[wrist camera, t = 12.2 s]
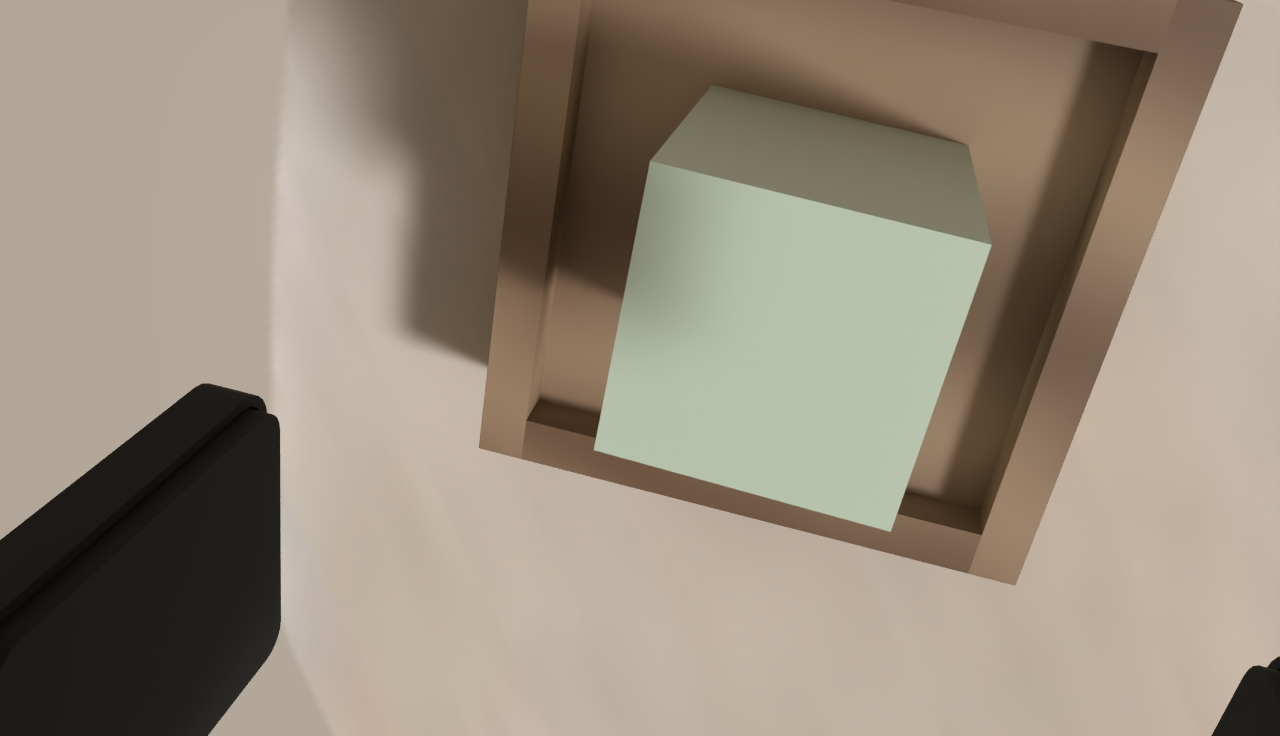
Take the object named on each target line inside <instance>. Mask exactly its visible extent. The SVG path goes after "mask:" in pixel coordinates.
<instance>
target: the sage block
mask: <svg viewBox="0 0 1280 736" xmlns="http://www.w3.org/2000/svg"><path fill="white" fill-rule="evenodd" d="M991 246H992V243H991V239H990V235H989V231H988V226H987V222H986V218H985V214H984V209H983V205H982V201H981V197H980V193H979V188H978V184H977V180H976V176H975V171H974V167H973V163H972V159H971V154H970V150H969V146H968V145H965V144H961V143H956V142H952V141H948V140H944V139H939V138H935V137H931V136H927V135H922V134H918V133H914V132H910V131H906V130H901V129H897V128H893V127H889V126H884V125H880V124H876V123H872V122H867V121H863V120H859V119H855V118H851V117H846V116H842V115H838V114H834V113H829V112H825V111H821V110H817V109H812V108H808V107H804V106H800V105H795V104H791V103H787V102H783V101H779V100H774V99H770V98H766V97H762V96H757V95H753V94H749V93H745V92H740V91H736V90H732V89H728V88H724V87H719V86H715V85H712V86H711V87H710V88H709V89H708V90H707V92H706V93H705V94H704V95H703V97H702V98H701V99H700V100H699V102H698V103H697V104H696V105H695V106H694V108H693V109H692V110H691V111H690V113H689V114H688V115H687V116H686V118H685V119H684V120H683V121H682V122H681V124H680V125H679V126H678V127H677V129H676V130H675V131H674V132H673V134H672V135H671V136H670V137H669V138H668V140H667V141H666V142H665V143H664V145H663V146H662V147H661V148H660V150H659V151H658V152H657V153H656V154H655V156H654V157H653V158H652V159H651V161H650V164H649V169H648V174H647V180H646V185H645V190H644V195H643V200H642V205H641V210H640V215H639V221H638V226H637V231H636V236H635V241H634V246H633V251H632V256H631V262H630V267H629V272H628V277H627V282H626V287H625V292H624V297H623V303H622V308H621V313H620V318H619V323H618V328H617V333H616V338H615V344H614V349H613V354H612V359H611V364H610V369H609V374H608V379H607V385H606V390H605V395H604V400H603V405H602V410H601V415H600V420H599V426H598V431H597V436H596V441H595V446H594V450H595V451H599V452H603V453H606V454H610V455H613V456H617V457H621V458H624V459H628V460H632V461H635V462H639V463H642V464H646V465H650V466H653V467H657V468H661V469H664V470H668V471H671V472H675V473H679V474H682V475H686V476H690V477H693V478H697V479H700V480H704V481H708V482H711V483H715V484H719V485H722V486H726V487H730V488H733V489H737V490H740V491H744V492H748V493H751V494H755V495H759V496H762V497H766V498H769V499H773V500H777V501H780V502H784V503H788V504H791V505H795V506H798V507H802V508H806V509H809V510H813V511H817V512H820V513H824V514H827V515H831V516H835V517H838V518H842V519H846V520H849V521H853V522H856V523H860V524H864V525H867V526H871V527H875V528H878V529H882V530H886V531H889V532H891V530H892V527H893V524H894V521H895V518H896V515H897V513H898V510H899V507H900V504H901V501H902V498H903V496H904V493H905V490H906V487H907V484H908V481H909V479H910V476H911V473H912V470H913V467H914V464H915V462H916V459H917V456H918V453H919V450H920V447H921V445H922V442H923V439H924V436H925V433H926V430H927V427H928V425H929V422H930V419H931V416H932V413H933V410H934V408H935V405H936V402H937V399H938V396H939V393H940V391H941V388H942V385H943V382H944V379H945V376H946V374H947V371H948V368H949V365H950V362H951V359H952V357H953V354H954V351H955V348H956V345H957V342H958V339H959V337H960V334H961V331H962V328H963V325H964V322H965V320H966V317H967V314H968V311H969V308H970V305H971V303H972V300H973V297H974V294H975V291H976V288H977V286H978V283H979V280H980V277H981V274H982V271H983V268H984V266H985V263H986V260H987V257H988V254H989V251H990V249H991Z"/></svg>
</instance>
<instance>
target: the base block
mask: <svg viewBox="0 0 1280 736" xmlns="http://www.w3.org/2000/svg"><path fill="white" fill-rule="evenodd" d="M1242 6H1243V4H1242V3H1240V2H1237V1H1235V0H528V7H527V16H526V25H525V34H524V43H523V52H522V61H521V70H520V80H519V89H518V98H517V107H516V116H515V125H514V134H513V143H512V152H511V161H510V170H509V179H508V188H507V197H506V206H505V216H504V225H503V234H502V243H501V252H500V261H499V270H498V279H497V288H496V297H495V306H494V315H493V324H492V333H491V342H490V352H489V361H488V370H487V379H486V388H485V397H484V406H483V415H482V424H481V433H480V442H479V448H481V449H485V450H489V451H493V452H497V453H500V454H504V455H508V456H512V457H516V458H520V459H524V460H528V461H532V462H536V463H539V464H543V465H547V466H551V467H555V468H559V469H563V470H567V471H571V472H575V473H578V474H582V475H586V476H590V477H594V478H598V479H602V480H606V481H610V482H614V483H617V484H621V485H625V486H629V487H633V488H637V489H641V490H645V491H649V492H653V493H656V494H660V495H664V496H668V497H672V498H676V499H680V500H684V501H688V502H692V503H695V504H699V505H703V506H707V507H711V508H715V509H719V510H723V511H727V512H731V513H734V514H738V515H742V516H746V517H750V518H754V519H758V520H762V521H766V522H770V523H773V524H777V525H781V526H785V527H789V528H793V529H797V530H801V531H805V532H809V533H812V534H816V535H820V536H824V537H828V538H832V539H836V540H840V541H844V542H848V543H851V544H855V545H859V546H863V547H867V548H871V549H875V550H879V551H883V552H887V553H890V554H894V555H898V556H902V557H906V558H910V559H914V560H918V561H922V562H926V563H929V564H933V565H937V566H941V567H945V568H949V569H953V570H957V571H961V572H965V573H968V574H972V575H976V576H980V577H984V578H988V579H992V580H996V581H1000V582H1004V583H1007V584H1011V585H1016V582H1017V580H1018V577H1019V575H1020V572H1021V570H1022V567H1023V564H1024V562H1025V559H1026V557H1027V554H1028V552H1029V549H1030V547H1031V544H1032V542H1033V539H1034V536H1035V534H1036V531H1037V529H1038V526H1039V524H1040V521H1041V519H1042V516H1043V513H1044V511H1045V508H1046V506H1047V503H1048V501H1049V498H1050V496H1051V493H1052V491H1053V488H1054V485H1055V483H1056V480H1057V478H1058V475H1059V473H1060V470H1061V468H1062V465H1063V463H1064V460H1065V457H1066V455H1067V452H1068V450H1069V447H1070V445H1071V442H1072V440H1073V437H1074V434H1075V432H1076V429H1077V427H1078V424H1079V422H1080V419H1081V417H1082V414H1083V412H1084V409H1085V406H1086V404H1087V401H1088V399H1089V396H1090V394H1091V391H1092V389H1093V386H1094V384H1095V381H1096V378H1097V376H1098V373H1099V371H1100V368H1101V366H1102V363H1103V361H1104V358H1105V356H1106V353H1107V350H1108V348H1109V345H1110V343H1111V340H1112V338H1113V335H1114V333H1115V330H1116V327H1117V325H1118V322H1119V320H1120V317H1121V315H1122V312H1123V310H1124V307H1125V305H1126V302H1127V299H1128V297H1129V294H1130V292H1131V289H1132V287H1133V284H1134V282H1135V279H1136V277H1137V274H1138V271H1139V269H1140V266H1141V264H1142V261H1143V259H1144V256H1145V254H1146V251H1147V248H1148V246H1149V243H1150V241H1151V238H1152V236H1153V233H1154V231H1155V228H1156V226H1157V223H1158V220H1159V218H1160V215H1161V213H1162V210H1163V208H1164V205H1165V203H1166V200H1167V198H1168V195H1169V192H1170V190H1171V187H1172V185H1173V182H1174V180H1175V177H1176V175H1177V172H1178V170H1179V167H1180V164H1181V162H1182V159H1183V157H1184V154H1185V152H1186V149H1187V147H1188V144H1189V141H1190V139H1191V136H1192V134H1193V131H1194V129H1195V126H1196V124H1197V121H1198V119H1199V116H1200V113H1201V111H1202V108H1203V106H1204V103H1205V101H1206V98H1207V96H1208V93H1209V91H1210V88H1211V85H1212V83H1213V80H1214V78H1215V75H1216V73H1217V70H1218V68H1219V65H1220V62H1221V60H1222V57H1223V55H1224V52H1225V50H1226V47H1227V45H1228V42H1229V40H1230V37H1231V34H1232V32H1233V29H1234V27H1235V24H1236V22H1237V19H1238V17H1239V14H1240V12H1241V9H1242ZM712 85H715V86H719V87H724V88H728V89H732V90H736V91H740V92H745V93H749V94H753V95H757V96H762V97H766V98H770V99H774V100H779V101H783V102H787V103H791V104H795V105H800V106H804V107H808V108H812V109H817V110H821V111H825V112H829V113H834V114H838V115H842V116H846V117H851V118H855V119H859V120H863V121H867V122H872V123H876V124H880V125H884V126H889V127H893V128H897V129H901V130H906V131H910V132H914V133H918V134H922V135H927V136H931V137H935V138H939V139H944V140H948V141H952V142H956V143H961V144H965V145H968V146H969V150H970V154H971V159H972V163H973V167H974V171H975V176H976V180H977V184H978V188H979V193H980V197H981V201H982V205H983V209H984V214H985V218H986V222H987V226H988V231H989V235H990V239H991V243H992V246H991V249H990V251H989V254H988V257H987V260H986V263H985V266H984V268H983V271H982V274H981V277H980V280H979V283H978V286H977V288H976V291H975V294H974V297H973V300H972V303H971V305H970V308H969V311H968V314H967V317H966V320H965V322H964V325H963V328H962V331H961V334H960V337H959V339H958V342H957V345H956V348H955V351H954V354H953V357H952V359H951V362H950V365H949V368H948V371H947V374H946V376H945V379H944V382H943V385H942V388H941V391H940V393H939V396H938V399H937V402H936V405H935V408H934V410H933V413H932V416H931V419H930V422H929V425H928V427H927V430H926V433H925V436H924V439H923V442H922V445H921V447H920V450H919V453H918V456H917V459H916V462H915V464H914V467H913V470H912V473H911V476H910V479H909V481H908V484H907V487H906V490H905V493H904V496H903V498H902V501H901V504H900V507H899V510H898V513H897V515H896V518H895V521H894V524H893V527H892V530H891V532H889V531H886V530H882V529H878V528H875V527H871V526H867V525H864V524H860V523H856V522H853V521H849V520H846V519H842V518H838V517H835V516H831V515H827V514H824V513H820V512H817V511H813V510H809V509H806V508H802V507H798V506H795V505H791V504H788V503H784V502H780V501H777V500H773V499H769V498H766V497H762V496H759V495H755V494H751V493H748V492H744V491H740V490H737V489H733V488H730V487H726V486H722V485H719V484H715V483H711V482H708V481H704V480H700V479H697V478H693V477H690V476H686V475H682V474H679V473H675V472H671V471H668V470H664V469H661V468H657V467H653V466H650V465H646V464H642V463H639V462H635V461H632V460H628V459H624V458H621V457H617V456H613V455H610V454H606V453H603V452H599V451H595V450H594V446H595V441H596V436H597V431H598V426H599V420H600V415H601V410H602V405H603V400H604V395H605V390H606V385H607V379H608V374H609V369H610V364H611V359H612V354H613V349H614V344H615V338H616V333H617V328H618V323H619V318H620V313H621V308H622V303H623V297H624V292H625V287H626V282H627V277H628V272H629V267H630V262H631V256H632V251H633V246H634V241H635V236H636V231H637V226H638V221H639V215H640V210H641V205H642V200H643V195H644V190H645V185H646V180H647V174H648V169H649V164H650V161H651V159H652V158H653V157H654V156H655V154H656V153H657V152H658V151H659V150H660V148H661V147H662V146H663V145H664V143H665V142H666V141H667V140H668V138H669V137H670V136H671V135H672V134H673V132H674V131H675V130H676V129H677V127H678V126H679V125H680V124H681V122H682V121H683V120H684V119H685V118H686V116H687V115H688V114H689V113H690V111H691V110H692V109H693V108H694V106H695V105H696V104H697V103H698V102H699V100H700V99H701V98H702V97H703V95H704V94H705V93H706V92H707V90H708V89H709V88H710V87H711V86H712Z"/></svg>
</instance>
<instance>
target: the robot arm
mask: <svg viewBox="0 0 1280 736" xmlns="http://www.w3.org/2000/svg"><path fill="white" fill-rule="evenodd" d="M280 622H281V560H280V426H279V421H278V419H277V417H276V416H274V415H272V414H268V413H267V410H266V406H265V403H264V401H263V399H261V398H260V397H259V396H256V395H252V394H248V393H244V392H240V391H237V390H233V389H229V388H225V387H221V386H217V385H213V384H201V385H199V386H197V387H195V388H194V389H192V390H191V391H190V392H189V393H187V394H186V395H185V396H183V397H182V398H181V399H180V400H178V401H177V402H176V403H175V404H173V405H172V406H171V407H170V408H168V409H167V410H166V411H164V412H163V413H162V414H161V415H159V416H158V417H157V418H155V419H154V420H153V421H152V422H150V423H149V424H148V425H146V427H144V428H143V429H142V430H140V431H139V432H138V433H136V434H135V435H134V436H133V437H131V438H130V439H129V440H127V441H126V442H125V443H124V444H122V445H121V446H120V447H118V448H117V449H116V450H115V451H114V452H112V453H111V454H110V455H108V456H107V457H106V458H105V459H103V460H102V461H101V462H99V463H98V464H97V465H95V466H94V467H93V468H92V469H91V470H89V471H88V472H87V473H85V474H84V475H83V476H82V477H80V478H79V479H78V480H77V481H75V482H74V483H73V484H71V485H70V486H69V487H67V488H66V489H65V490H64V491H62V492H61V493H60V494H58V495H57V496H56V497H55V498H53V499H52V500H51V501H50V502H48V503H47V504H46V505H45V506H43V507H42V508H41V509H39V510H38V511H37V512H36V513H34V514H33V515H32V516H30V517H29V518H28V519H27V520H25V521H24V522H23V523H22V524H21V525H19V526H18V527H17V528H15V529H14V530H13V531H11V532H10V533H9V534H7V535H6V536H5V537H4V538H2V539H1V540H0V736H208V734H209V733H210V732H211V731H212V729H213V728H214V727H215V725H216V724H217V723H218V721H219V720H220V719H221V717H222V716H223V715H224V714H225V713H226V711H227V710H228V709H229V707H230V706H231V705H232V704H233V702H234V701H235V700H236V698H237V697H238V696H239V694H240V693H241V692H242V690H243V689H244V688H245V687H246V685H247V684H248V683H249V681H250V680H251V679H252V677H253V676H254V675H255V674H256V672H257V671H258V670H259V669H260V667H261V666H262V665H263V663H264V662H265V661H266V660H267V658H268V656H269V655H270V653H271V652H272V649H273V647H274V645H275V643H276V640H277V637H278V634H279V630H280ZM1212 736H1280V657H1277V658H1276V659H1275V660H1273V661H1272V662H1271V663H1270V664H1269V666H1268V667H1267V668H1266V667H1262V666H1253V667H1252V668H1250V669H1249V670H1248V671H1247V672H1246V674H1245V675H1244V677H1243V678H1242V680H1241V682H1240V684H1239V686H1238V688H1237V689H1236V691H1235V693H1234V695H1233V697H1232V699H1231V701H1230V702H1229V704H1228V706H1227V708H1226V710H1225V712H1224V714H1223V715H1222V717H1221V719H1220V721H1219V723H1218V725H1217V727H1216V728H1215V730H1214V732H1213V734H1212Z"/></svg>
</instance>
